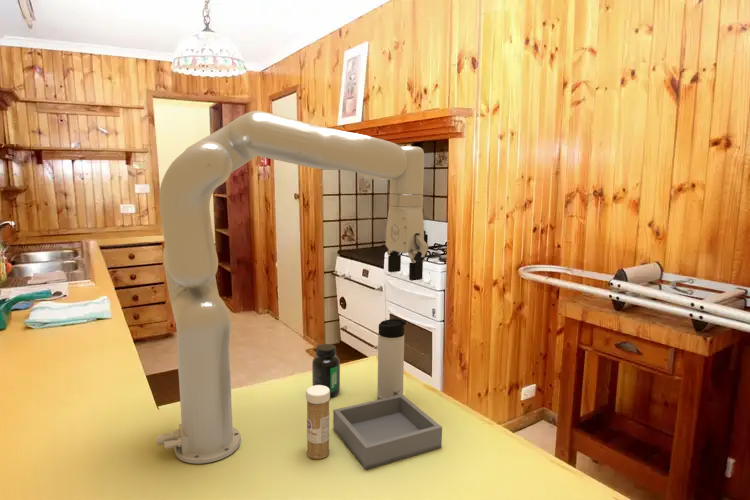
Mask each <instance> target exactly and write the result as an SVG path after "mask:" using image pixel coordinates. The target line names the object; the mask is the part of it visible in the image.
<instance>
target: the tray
mask: <svg viewBox="0 0 750 500" xmlns="http://www.w3.org/2000/svg"><path fill="white" fill-rule="evenodd" d="M332 415H333V417H332V419H333V420H332V421H333V424H332V425H333V428H332V429H333V431H334V432H335V433H336V435H337V436H338V438H339V439H340V440H341V441H342V442H343V443H344V445H345V446H346V447H347V449H348V450H349V452H350V453H352V455H353V456H354V458H355V459H356V460H357V461H358V463H359V464H360V465H361V466H362V467H363V469H364V470H365V471H369V470H372V469H375V468H378V467H379V468H380V467H382V466H386V465H388V464H391V463H394V462H398V461H401V460H406V459H408V458H412V457H415V456H418V455H422V454H426V453H429V452H432V451H436V450H438V449H439V450H440V449H442V444H443V441H442V440H443V426H442V425H440V424H439V423H438V422H437V421H435V420H434V419H433V418H432V417H431V416H429V415H428V414H427V413H426V412H424V411H423V410H422V409H420V407H418V406H417V405H416V404H415V403H413V401H411V400H409V399H408V398H407V397H406V396H405V395H404V394H403V395H402V394H401V395H397V396H392V397H388V398H384V399H379V400H378V399H375V400H371V401H366V402H361V403H357V404H353V405H350V406H345V407H340V408H337V409H333V411H332Z"/></svg>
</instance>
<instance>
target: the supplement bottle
mask: <svg viewBox="0 0 750 500" xmlns="http://www.w3.org/2000/svg"><path fill="white" fill-rule="evenodd" d="M315 349H316V352H315V355H316V356H315V357H314V358H313V360H312V364H311V366H312V367H311V370H312V371H311V372H312V374H311V375H312V376H311V377H312V379H311V380H312V381H311V382H312V386H315V385H323V386H326V387H328V388H329V389H330V399H332V398H334V397H336V396H338V395H339V394H340V391H341V361H340V358H339V357H338V355H337V347H336V345H335V344H332V343H331V344H330V343H322V344H319V345H317V346H316V348H315Z"/></svg>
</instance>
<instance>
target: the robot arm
mask: <svg viewBox="0 0 750 500" xmlns="http://www.w3.org/2000/svg"><path fill="white" fill-rule="evenodd" d="M424 152H425V151H424V149H423V148H422V147H420V146H412V145H411V146H410V145H407V146H406V145H405V146H404V145H402V146H400V145H398V144H397V143H394V142H392V141H388V140H385V139H381V138H378V137H373V136H369V135H365V134H361V133H355V132H350V131H344V130H340V129H336V128H333V127H332V128H331V127H325V126H322V125H321V126H320V125H316V124H313V123H310V122H305V121H301V120H297V119H293V118H289V117H285V116H282V115H278V114H274V113H272V112H266V111H261V110H253V111H248V112H246V113H244V114H242V115H240V116H238V117H237V118H236V119H234V120H232V121H230V122H229V123H228V124H226V125H224V126H223V127H221V128H220V129H218V130H216V131H215V132H214V131H213V133H211V134H209V135H207V136H206V137H204V138H202V139H200V140H199V141H196V142H195V143H193V144H191V145H190V146H188V147H187V148H185V150H184V151H183V152H182V153H181V154H179V155H178V156H177V157H176V158H175V159H174V160H173V161H172V162H171V164H170V165H169V167H168V168H167V169H166V172H165V173H164V175H163V177H162V180H161V183H160V188H159V197H158V199H159V200H158V201H159V202H158V203H159V204H158V205H159V211H160V220H161V227H162V234H163V241H164V248H163V252H162V263H163V269H164V274H165V279H166V285H167V291H168V295H169V300H170V306H171V310H172V315H173V319H174V322H175V327H176V338H177V340H176V341H177V345H176V348H177V368H178V369H177V371H178V383H179V399H180V400H179V402H180V417H181V418H180V419H181V423H179V424H178V429H174V430H173V432H169V433H163V434H159V435H158V434H157V435H156V444H157V445H156V446H157V447H159V446H164V450H169V449H172V448H174V450H173V451H174V454H175V457H176V458H177V459H179V460H180V461H182V462H185V463H187V464H194V465H195V464H198V465H199V464H201V465H202V464H208V463H213V462H216V461H220V460H222V459H225V458H227V457H229V456H230V455H232V454H233V453H234V452H235V451H237V449H239V447H240V445H241V441H242V440H241V439H242V438H241V437H242V435H241V433H240V431H239V430H238V429H236V428H234V427H233V408H232V407H233V406H232V403H233V402H232V383H231V381H232V380H231V358H230V357H231V355H230V353H231V352H230V348H231V347H230V345H231V329H232V328H231V327H232V325H231V324H232V323H231V321H232V320H231V316H230V312H229V309H228V307H227V305H226V303H225V301H224V300H223V299H222V298H221V297H220V294H219V291H218V290H219V289H218V284H217V279H216V275H217V272H218V267H219V258H218V253H217V249H216V245H215V244H216V243H215V239H214V238H215V237H214V233H213V227H212V219H211V218H212V217H211V211H210V209H211V207H210V205H211V204H210V202H211V198H212V195H213V193H214V192H215V190H216V189H217V188H218V187H220V186H221V185H223V184H224V183H226V182H227V180H228V179H229V178H230V176H231V175H232V173H233V172H234V171H236V170H237V169H239V168H241V167H243V166H244V165H245V164H247V163H248V162H250V161H251V160H253V159H254V158H256V157H261V158H265V159H270V160H274V161H278V162H279V161H280V162H284V163H288V164H294V165H297V166H301V167H307V168H312V169H318V170H328V171H329V170H330V171H331V170H335V171H338V170H339V171H347V172H353V173H358V175H360V177H363V178H365V179H369V180H386V181H389V208H388V213H387V218H386V232H385V235H384V236H385V237H384V238H385V247H386V249H387V252H386V253H387V257H388V259H387V271H388V273H397V272H401V270H402V269H401V268H402V267H401V265H402V262H401V261H402V254H407V253H408V256H409V259H410V262H409V263H408V264H409V265H408V266H409V267H408V268H409V269H408V270H409V273H408V277H409V278H408V280H409V281H410V282H411V281H421V280H423V277H424V275H423V272H424V263H425V258H426V257H427V252H428V249H429V244H428V243H427V242H426V241H425V227H424V225H425V223H424V215H423V214H424V213H423V209H424V179H425V178H424V176H425V175H424V174H425V171H424V170H425V153H424Z"/></svg>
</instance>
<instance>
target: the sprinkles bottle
mask: <svg viewBox="0 0 750 500" xmlns="http://www.w3.org/2000/svg"><path fill="white" fill-rule="evenodd" d="M305 391H306V392H305V399H306V402H307V404H306V406H307V411H306V412H307V414H306V415H307V417H306V439H307V444H306V446H307V447H306V448H307V449H306V455H307V457H308V458H311V459H313V460H320V459H324V458H325V457H327V456H328V455H330V399H331V398H330V389H329V388H328V387H326V386H323V385H315V386H313V385H312V386H309V387H307V389H306V390H305Z"/></svg>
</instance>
